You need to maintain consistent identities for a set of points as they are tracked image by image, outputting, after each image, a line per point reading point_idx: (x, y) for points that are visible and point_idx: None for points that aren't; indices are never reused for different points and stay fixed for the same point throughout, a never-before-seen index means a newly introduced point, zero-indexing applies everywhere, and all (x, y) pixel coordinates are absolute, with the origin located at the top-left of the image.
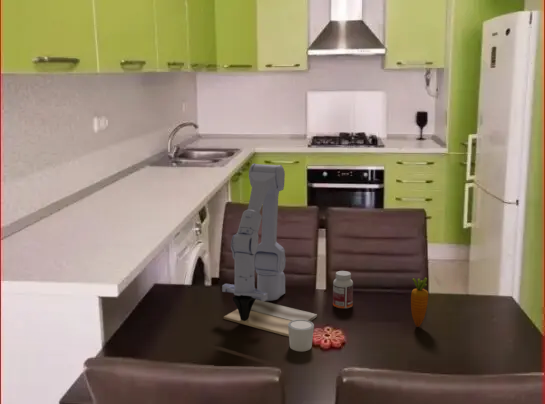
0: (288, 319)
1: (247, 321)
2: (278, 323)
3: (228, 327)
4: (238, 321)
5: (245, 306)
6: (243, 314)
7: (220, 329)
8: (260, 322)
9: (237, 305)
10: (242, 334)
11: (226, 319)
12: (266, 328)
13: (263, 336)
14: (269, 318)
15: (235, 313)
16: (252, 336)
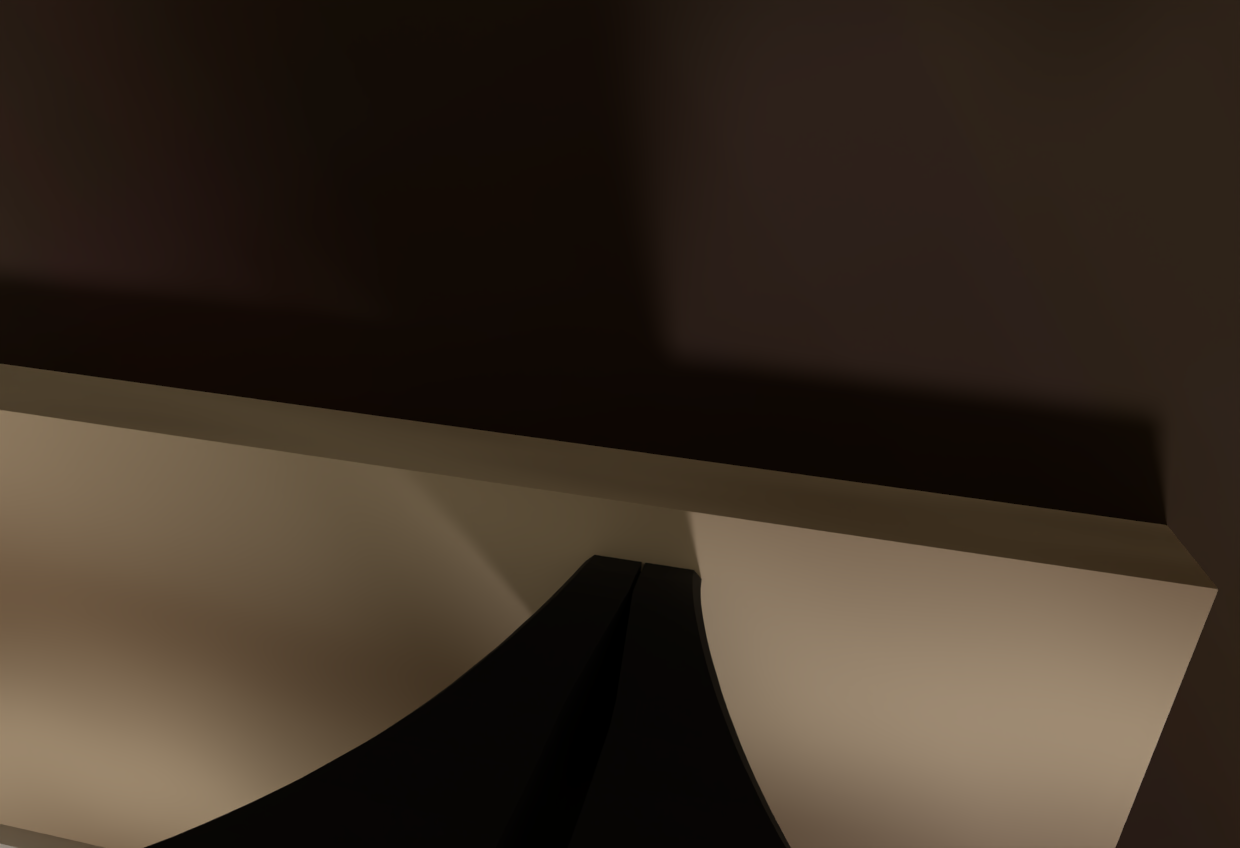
0: (5, 844)
1: (518, 553)
2: (6, 674)
3: (893, 267)
4: (728, 507)
5: (297, 793)
6: (553, 631)
7: (1043, 53)
8: (268, 603)
9: (712, 840)
10: (392, 74)
11: (1103, 547)
12: (6, 409)
13: (16, 211)
14: (255, 799)
15: (990, 818)
16: (164, 95)
